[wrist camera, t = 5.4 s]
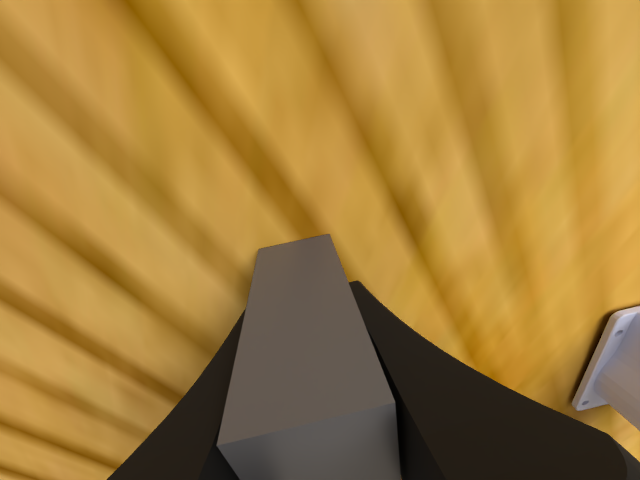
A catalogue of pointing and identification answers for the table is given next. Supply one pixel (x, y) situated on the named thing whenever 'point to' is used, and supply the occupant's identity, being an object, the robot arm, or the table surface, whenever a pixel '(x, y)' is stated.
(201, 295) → the table surface
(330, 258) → the scraper
